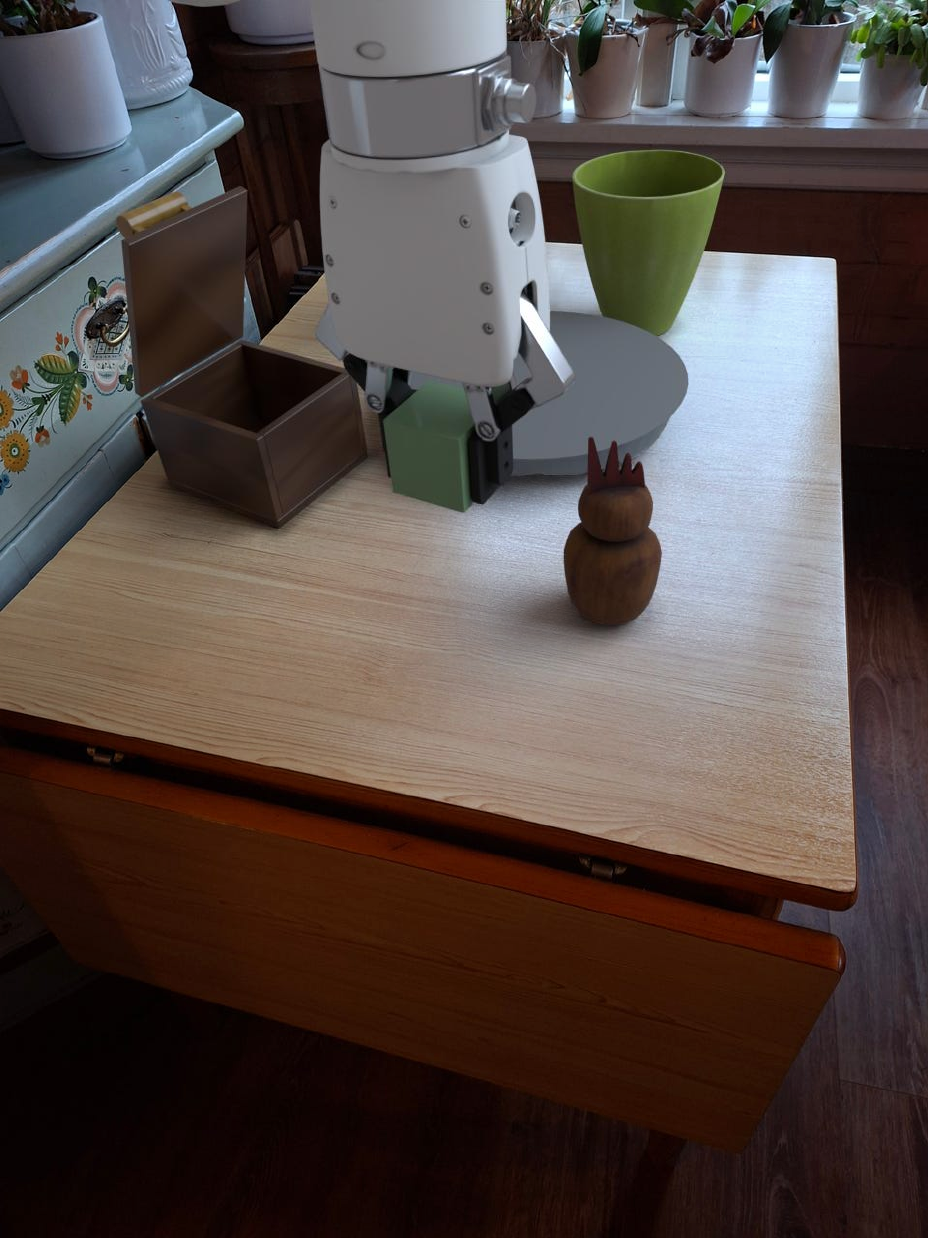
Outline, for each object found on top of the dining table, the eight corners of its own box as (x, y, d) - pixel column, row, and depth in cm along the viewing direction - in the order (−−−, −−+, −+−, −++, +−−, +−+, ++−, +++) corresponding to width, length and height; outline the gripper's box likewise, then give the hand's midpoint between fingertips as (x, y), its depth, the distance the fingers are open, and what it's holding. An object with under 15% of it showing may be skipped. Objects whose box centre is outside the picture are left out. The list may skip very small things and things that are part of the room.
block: (392, 492, 49) (382, 419, 46) (435, 451, 52) (428, 380, 49) (464, 513, 47) (458, 439, 44) (504, 469, 50) (501, 396, 47)
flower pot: (547, 340, 100) (547, 187, 89) (601, 287, 109) (607, 143, 98) (678, 365, 94) (695, 205, 83) (723, 307, 103) (744, 156, 92)
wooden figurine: (555, 628, 66) (557, 453, 56) (572, 578, 70) (576, 406, 60) (648, 643, 65) (667, 465, 55) (660, 591, 69) (679, 416, 59)
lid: (247, 189, 73) (201, 161, 74) (128, 244, 66) (78, 212, 67) (243, 336, 84) (203, 310, 85) (141, 397, 77) (98, 368, 78)
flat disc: (345, 476, 83) (337, 434, 80) (451, 338, 102) (448, 300, 98) (651, 525, 75) (655, 480, 72) (705, 366, 93) (710, 325, 90)
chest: (368, 456, 85) (355, 370, 79) (279, 528, 78) (256, 440, 72) (261, 421, 91) (241, 339, 85) (169, 485, 83) (139, 400, 77)
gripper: (645, 98, 36) (619, 480, 49) (308, 72, 43) (361, 413, 55) (564, 154, 32) (558, 560, 44) (201, 115, 38) (285, 476, 51)
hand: (448, 475), depth 50 cm, fingers closed on block, 4 cm apart
